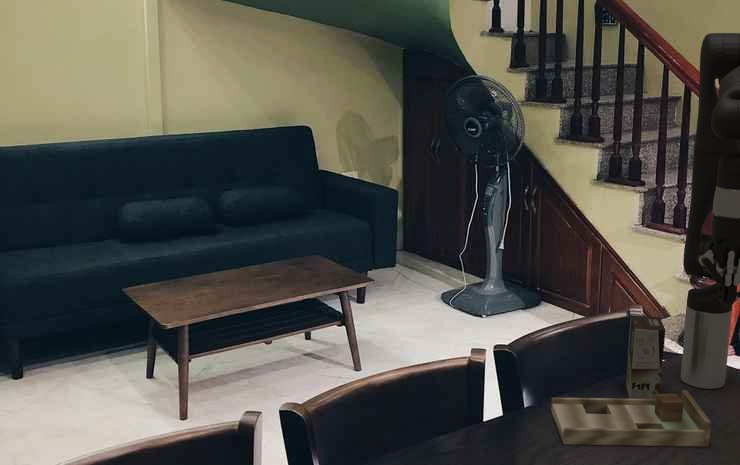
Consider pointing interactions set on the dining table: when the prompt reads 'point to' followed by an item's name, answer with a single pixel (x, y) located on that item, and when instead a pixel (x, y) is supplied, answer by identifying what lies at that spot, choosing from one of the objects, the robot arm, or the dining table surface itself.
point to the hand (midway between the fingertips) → (726, 303)
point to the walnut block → (668, 407)
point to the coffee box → (645, 357)
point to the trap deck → (628, 422)
